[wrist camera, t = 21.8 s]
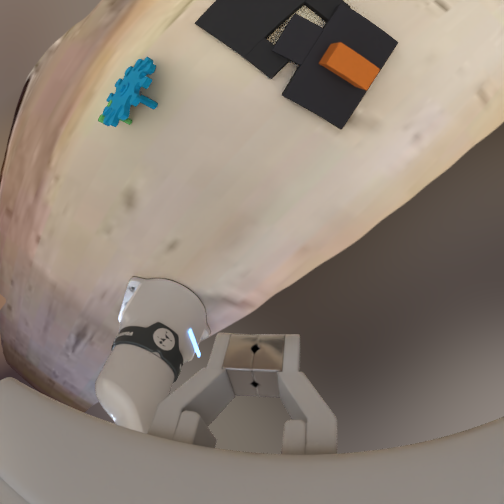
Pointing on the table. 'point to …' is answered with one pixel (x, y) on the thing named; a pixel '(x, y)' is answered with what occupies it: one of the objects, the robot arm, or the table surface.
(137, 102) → the gear
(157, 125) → the table surface
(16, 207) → the table surface
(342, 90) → the pad
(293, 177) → the table surface
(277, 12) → the socket pad
